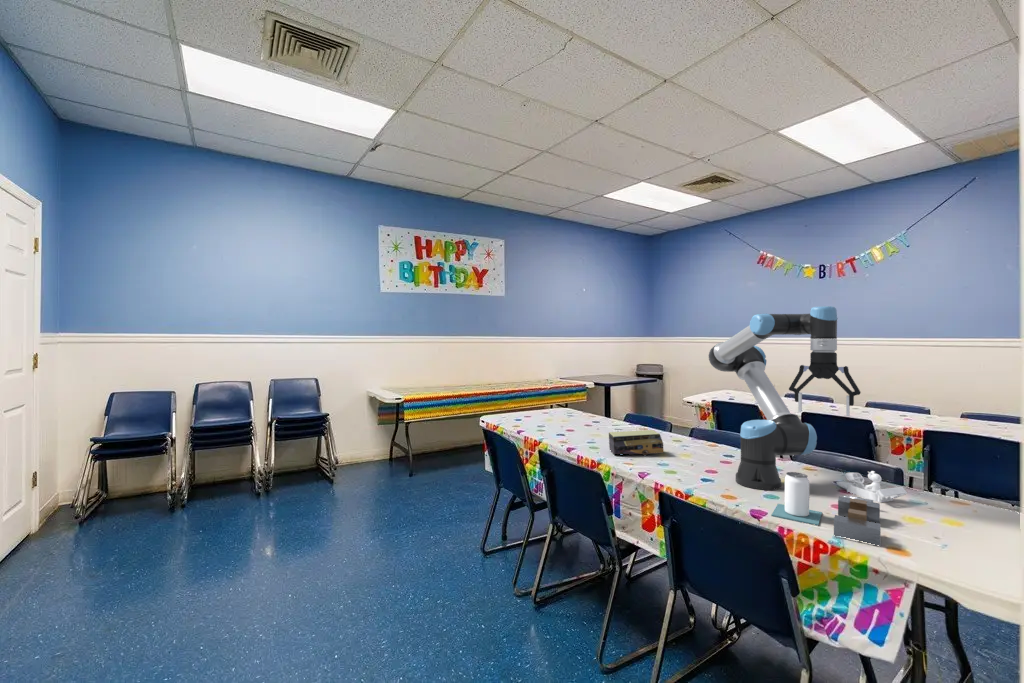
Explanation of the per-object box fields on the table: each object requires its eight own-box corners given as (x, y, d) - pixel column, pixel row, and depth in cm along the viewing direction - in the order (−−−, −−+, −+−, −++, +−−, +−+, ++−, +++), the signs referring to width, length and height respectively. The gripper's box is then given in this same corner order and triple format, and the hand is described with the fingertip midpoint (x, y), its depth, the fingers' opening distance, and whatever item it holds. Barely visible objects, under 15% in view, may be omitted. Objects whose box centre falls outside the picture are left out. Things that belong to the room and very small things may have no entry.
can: (779, 511, 143) (779, 472, 143) (794, 508, 146) (794, 470, 145) (799, 518, 137) (799, 478, 137) (814, 515, 140) (814, 476, 139)
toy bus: (664, 455, 212) (663, 433, 212) (614, 458, 212) (613, 436, 212) (656, 450, 222) (655, 429, 222) (609, 452, 222) (608, 432, 222)
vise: (840, 503, 151) (840, 485, 151) (879, 510, 145) (879, 491, 145) (833, 536, 126) (833, 514, 126) (880, 546, 119) (880, 524, 119)
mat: (777, 504, 150) (777, 503, 150) (822, 513, 142) (822, 512, 142) (771, 515, 140) (771, 514, 140) (818, 525, 133) (818, 524, 133)
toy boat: (848, 484, 170) (848, 461, 170) (908, 503, 151) (908, 476, 151) (825, 487, 167) (825, 463, 167) (883, 507, 148) (883, 479, 148)
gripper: (780, 351, 162) (779, 411, 162) (869, 352, 146) (869, 418, 146) (783, 350, 167) (783, 408, 168) (869, 351, 152) (869, 415, 152)
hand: (823, 413), depth 157 cm, fingers open, 13 cm apart
